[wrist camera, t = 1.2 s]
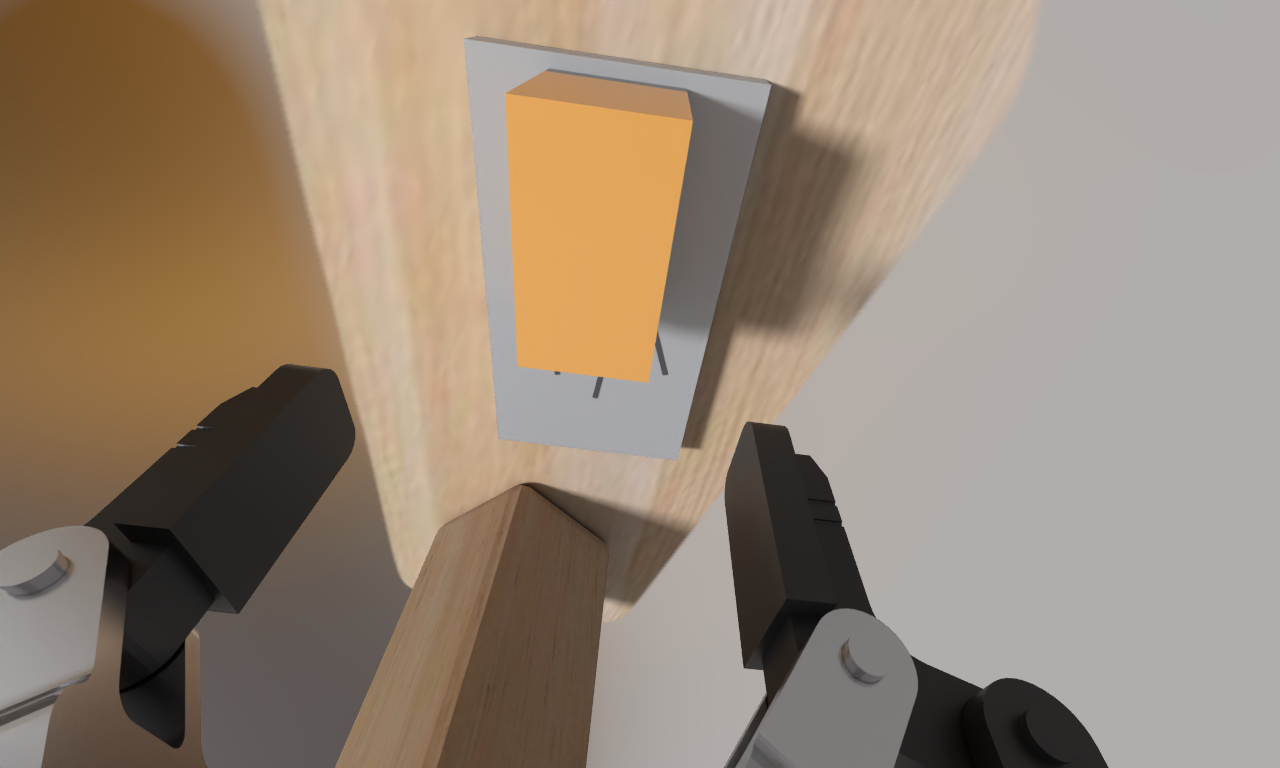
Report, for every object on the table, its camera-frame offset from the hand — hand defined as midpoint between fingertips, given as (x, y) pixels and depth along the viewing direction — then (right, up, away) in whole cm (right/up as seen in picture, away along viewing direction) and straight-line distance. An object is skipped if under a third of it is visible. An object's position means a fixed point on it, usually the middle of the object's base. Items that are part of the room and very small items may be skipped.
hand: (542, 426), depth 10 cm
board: (0, +6, +15) cm, 16 cm away
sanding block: (+1, +8, +11) cm, 14 cm away
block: (-7, -11, +29) cm, 31 cm away
